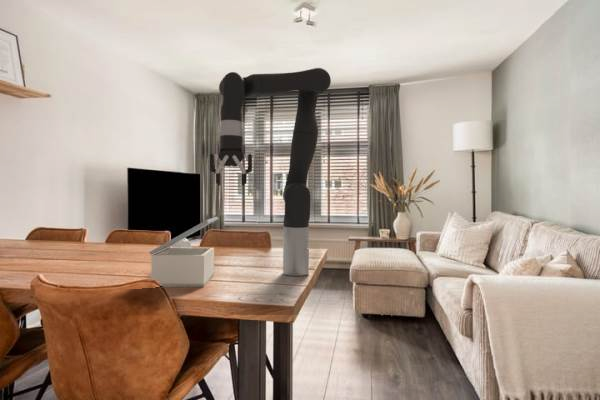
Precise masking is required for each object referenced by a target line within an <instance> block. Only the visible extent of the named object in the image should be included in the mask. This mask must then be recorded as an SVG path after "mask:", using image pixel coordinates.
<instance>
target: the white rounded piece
mask: <svg viewBox="0 0 600 400" xmlns="http://www.w3.org/2000/svg"><path fill="white" fill-rule="evenodd" d="M171 246H172V247H171V248H192V244H191V242H190V241H189V239H187V237H185V238H184V239H182V240H180V241H178V242H176V243H175V244H173V245H171Z"/></svg>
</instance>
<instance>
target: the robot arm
mask: <svg viewBox="0 0 600 400" xmlns="http://www.w3.org/2000/svg"><path fill="white" fill-rule="evenodd" d="M331 82H332V81H331V76H330V74H329V72H328V71H327V70H326V69H325V68H322V67H314V68H310V69H305V70H300V71H293V72H280V73H278V72H277V73H276V72H275V73H274V72H273V73H252V74H250V75H248V76H245V77H243V76H242V75H241V74H239V73H238V72H236V71H230V72H228V73H226V74H225V75H224V76H223V78H222V79H221V80H220V83H219V84H218V85H219V86H218V91H219V93H220V94H221V96H222V98H223V99H222V104H221V107H220V125H219V153H210V154H209V170H210V172H211V173H214V174H215V183H216V184H217V186H220V187H221V186H222V174H221V173H222V171H223V170H224V169H225V167H235V168H236V167H238V168H239V170H240V171H241V186H242V187H243V186H245V185H247V182H248V181H247V180H248V179H247V178H248V177H247V175H248V174H249V173H252V172H253V155H252V154H251V153H249V154H248V153H247V154H244V127H243V126H244V125H243V104H244V99H245V98H247V97H251V96H252V97H253V96H269V95H277V94H282V93H284V94H285V93H289V92H296V91H298V96H297V97H298V98H297V100H298V101H297V109H296V114H295V120H294V126H293V131H292V132H293V133H292V137H291V145H290V153H289V168H288V173H287V178H286V182H285V185H284V187H283V188H284V189H283V193H282V198H283V201H284V216H283V217H284V218H283V228H282V229H283V237H282V239H283V240H282V242H283V244H282V246H283V248H282V251H283V252H282V273H283V275H285V276H290V277H301V276H302V277H303V276H309V274H310V273H309V272H310V271H309V269H310V268H309V266H310V264H309V263H310V260H309V259H310V248H309V230H310V229H309V227H310V226H309V225H310V219H311V191H310V189H309V188H308V184H307V183H308V176H309V170H310V167H311V165H312V163H313V159H314V156H315V153H316V149H317V143H318V138H319V126H318V121H317V116H316V108H317V103H318V100H319V99H318V98H319V96H320V95H321V94H324V93H325V92H326V91H327V90H328V89H329V88H330V86H331ZM244 158H245V160H246V161H247V169H246V168H245V167H244V165H243V164H242V161H243V160H244ZM218 159H219V160H220V164H219V165H218V167H217V168H216V161H217V160H218Z"/></svg>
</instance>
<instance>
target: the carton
mask: <svg viewBox="0 0 600 400" xmlns="http://www.w3.org/2000/svg"><path fill="white" fill-rule="evenodd" d="M150 255H151V254H150ZM150 266H151V268H150V273H151V274H150V275H151V277H150V278H151V279H154V280H156V281H158V282H159V283H160V284H161V285H162V286H163V287H162V288H204V287H206V285H207V284H208V283H209V282H210V281H211V280H212V278H213V277H214V276H215V247H191V248H172V247H167V248H165V249H163V250H161V251H158V252H156V253H154V254H152V255H151V265H150ZM151 279H150V280H151Z"/></svg>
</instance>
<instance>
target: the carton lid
mask: <svg viewBox="0 0 600 400" xmlns="http://www.w3.org/2000/svg"><path fill="white" fill-rule="evenodd" d="M218 220H219V217H218V216H214V217H211V218H208V219H206V220H204V221H203V222H202V221H201V222H200V223H199V224H197V225H195V226H193V227H192V228H190V229H188V230H186V231H184V232H183V233H181V234H179V235H178V236H175V237H174V238H171V239H170V240H168V241H166V242H165V243H163V244H160V245H159V246H158V247H156V248H154V249H152V250H150V251H149V254H150V255H153V254H155V253H158V252H160V251H162V250H164V249H166V248H170V247H171V246H172V245H173V244H175V243H176V242H178V241H180V240H182V239H184V238H187V237H189V236H191V235H192V234H194V233H196V232H198V231H200V230H201V229H204V228H205V227H207V226H209V225H210V224H212V223H214V222H216V221H218Z"/></svg>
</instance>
